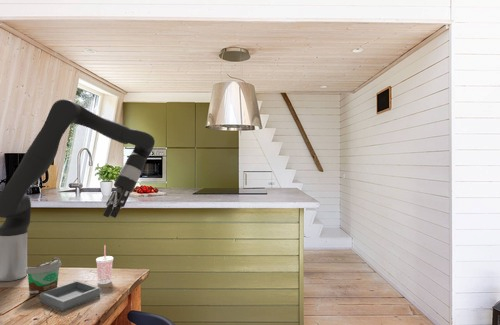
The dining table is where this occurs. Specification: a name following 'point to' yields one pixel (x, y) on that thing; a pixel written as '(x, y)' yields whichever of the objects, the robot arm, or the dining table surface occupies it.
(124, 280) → the dining table surface
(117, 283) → the dining table surface
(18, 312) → the dining table surface
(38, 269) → the food container
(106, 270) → the beverage cup
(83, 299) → the tray
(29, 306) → the dining table surface
